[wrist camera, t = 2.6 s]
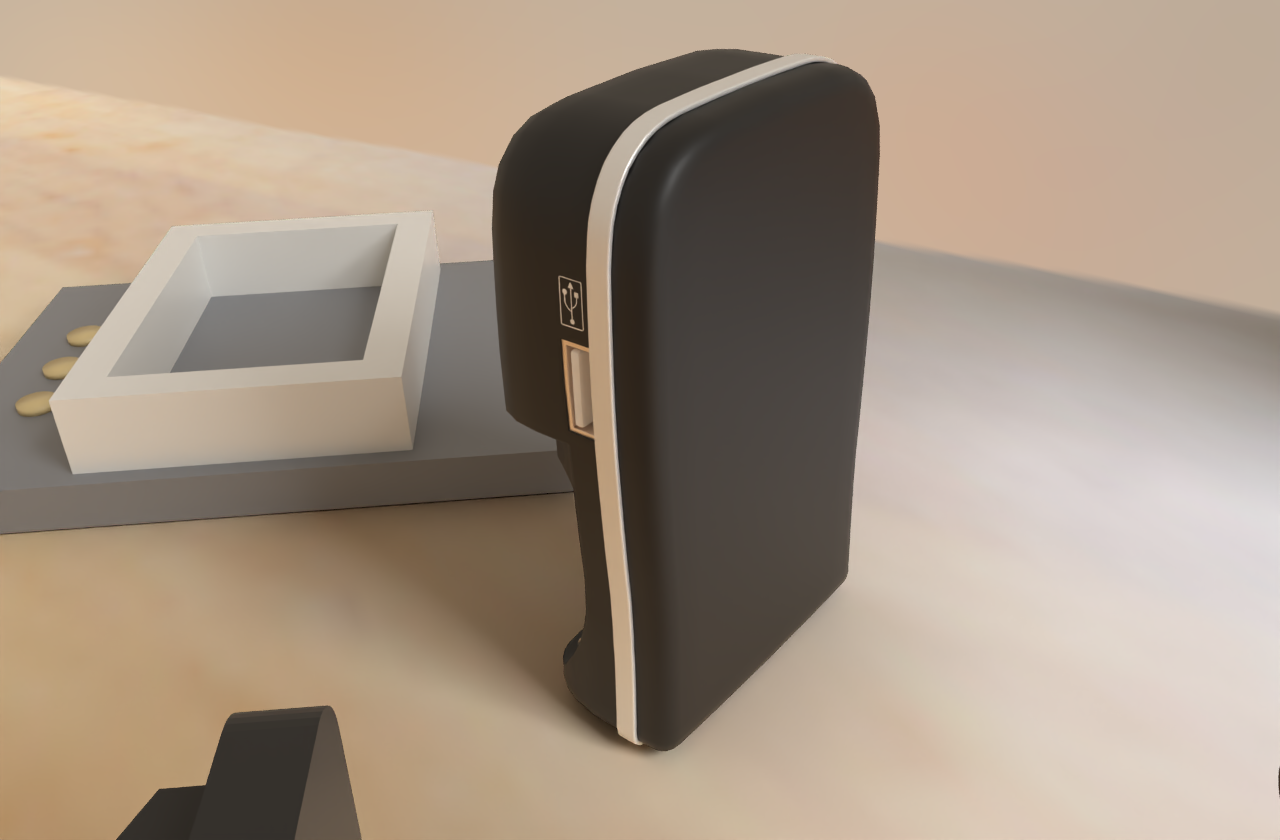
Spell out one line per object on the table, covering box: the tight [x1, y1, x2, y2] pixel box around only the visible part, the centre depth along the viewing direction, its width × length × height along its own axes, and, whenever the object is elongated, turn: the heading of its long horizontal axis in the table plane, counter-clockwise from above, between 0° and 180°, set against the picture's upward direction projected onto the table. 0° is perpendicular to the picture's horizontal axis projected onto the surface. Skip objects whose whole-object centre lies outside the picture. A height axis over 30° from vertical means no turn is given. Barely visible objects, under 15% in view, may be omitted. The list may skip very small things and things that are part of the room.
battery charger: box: [492, 49, 880, 751], centre depth 21 cm, size 7×4×11 cm, turn 141°
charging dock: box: [0, 210, 574, 534], centre depth 33 cm, size 16×12×3 cm
